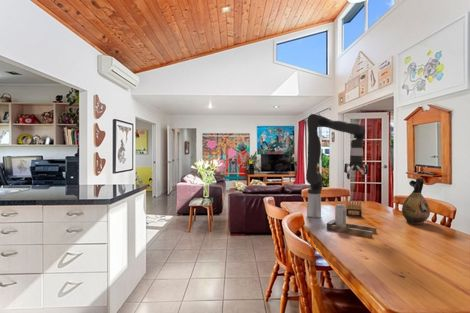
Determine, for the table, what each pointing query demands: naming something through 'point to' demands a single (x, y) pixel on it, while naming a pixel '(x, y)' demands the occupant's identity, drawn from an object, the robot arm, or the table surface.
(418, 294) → the table surface
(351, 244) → the table surface
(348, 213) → the ammunition clip
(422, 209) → the ceramic jug
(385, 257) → the table surface
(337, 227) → the channel
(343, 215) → the energy drink can
